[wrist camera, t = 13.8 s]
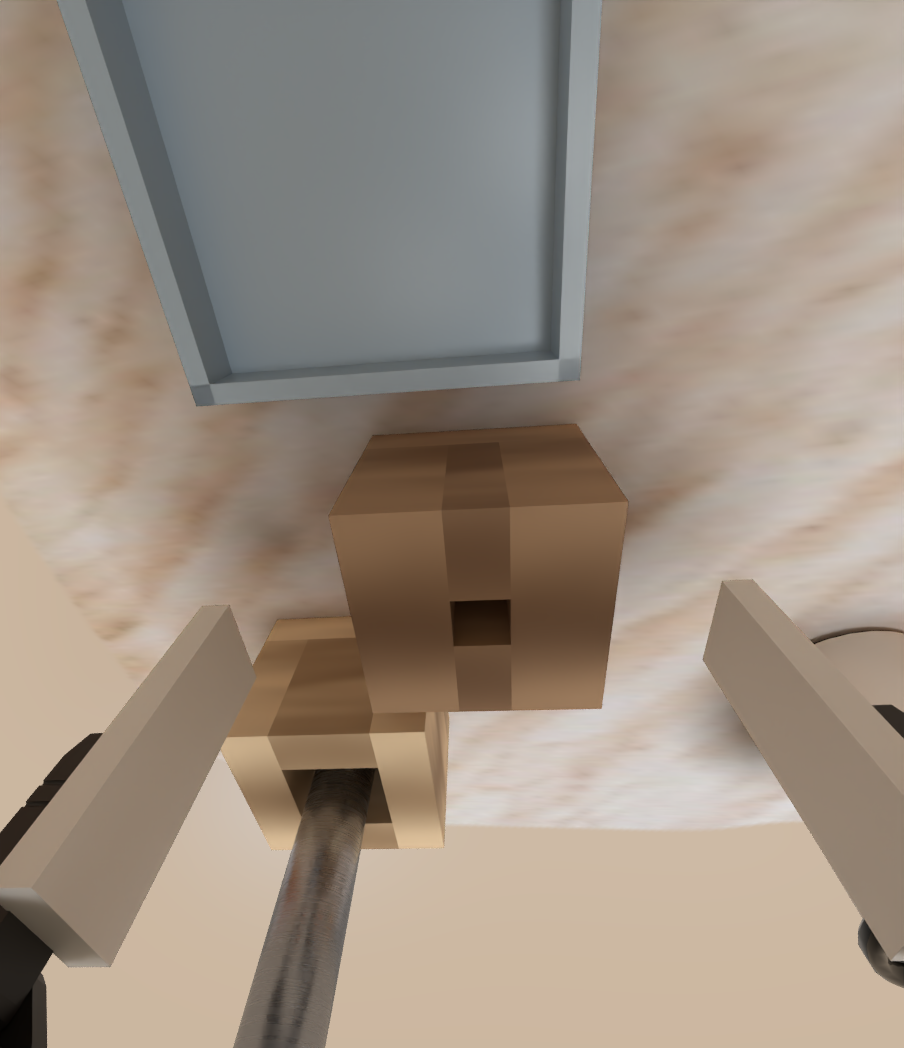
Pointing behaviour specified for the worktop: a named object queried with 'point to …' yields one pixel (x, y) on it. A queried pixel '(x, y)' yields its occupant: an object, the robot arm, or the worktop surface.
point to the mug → (883, 679)
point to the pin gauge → (309, 918)
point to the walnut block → (481, 568)
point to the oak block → (334, 740)
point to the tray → (354, 185)
